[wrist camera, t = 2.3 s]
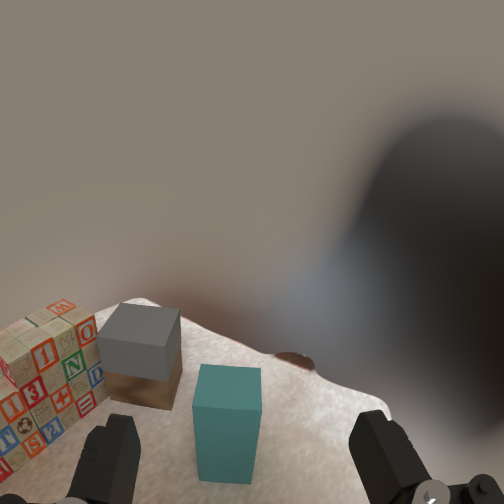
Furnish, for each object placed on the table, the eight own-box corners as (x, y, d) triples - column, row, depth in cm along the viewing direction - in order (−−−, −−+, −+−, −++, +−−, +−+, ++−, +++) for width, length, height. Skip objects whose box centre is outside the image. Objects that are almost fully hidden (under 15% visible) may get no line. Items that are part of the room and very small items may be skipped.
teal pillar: (199, 480, 24) (192, 405, 20) (204, 444, 29) (201, 363, 25) (250, 483, 24) (261, 410, 20) (250, 447, 29) (260, 368, 25)
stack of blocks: (-2, 487, 15) (-64, 408, 11) (-27, 453, 17) (-79, 372, 13) (113, 393, 34) (95, 312, 30) (82, 374, 36) (63, 296, 32)
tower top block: (103, 370, 31) (95, 336, 30) (125, 334, 39) (120, 302, 37) (168, 381, 32) (164, 346, 30) (181, 341, 39) (179, 309, 38)
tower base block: (110, 400, 33) (102, 371, 31) (129, 363, 40) (124, 335, 39) (171, 411, 33) (167, 382, 31) (182, 370, 41) (180, 342, 39)
